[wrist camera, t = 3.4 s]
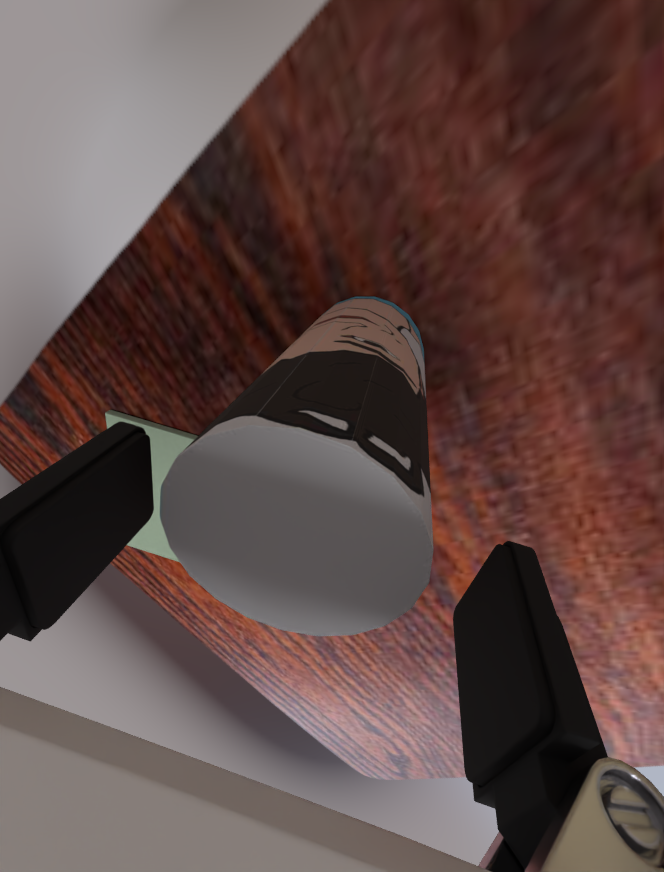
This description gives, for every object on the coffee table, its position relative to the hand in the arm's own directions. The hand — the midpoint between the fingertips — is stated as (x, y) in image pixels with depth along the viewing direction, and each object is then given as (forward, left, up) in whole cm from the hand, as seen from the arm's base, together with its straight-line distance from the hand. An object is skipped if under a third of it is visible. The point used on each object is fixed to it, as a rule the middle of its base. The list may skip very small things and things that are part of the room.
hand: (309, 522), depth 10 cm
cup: (0, 0, -14) cm, 14 cm away
